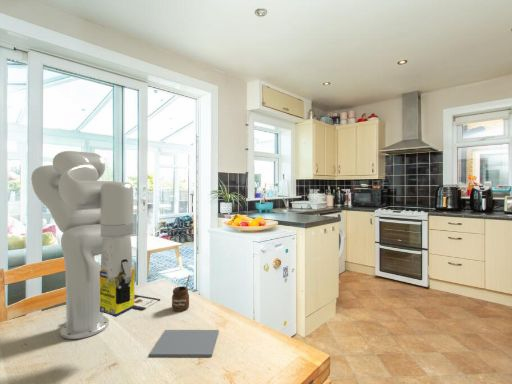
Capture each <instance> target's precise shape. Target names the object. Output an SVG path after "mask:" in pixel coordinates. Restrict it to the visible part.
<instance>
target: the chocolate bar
mask: <svg viewBox="0 0 512 384" xmlns="http://www.w3.org/2000/svg"><path fill="white" fill-rule="evenodd" d="M158 301H159V302H160V301H161V299H160V298H155V297H150V296H145V295H139V294H138V295H137V294H134V308H132V309H134V310H139V311H145V310H147V309H148V308H150V307H152V306H153V305H155V304H157V303H159V302H158Z"/></svg>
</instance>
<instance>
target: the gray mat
mask: <svg viewBox="0 0 512 384" xmlns="http://www.w3.org/2000/svg"><path fill="white" fill-rule="evenodd" d="M219 333H220V331H219V329H164V331H163V332H162V335H161V336H160V337H159V338H158V340H157V342H156V344H155V345H154V346H153V348H152V349H151V351H150V352H149V357H171V358H172V357H177V358H178V357H179V358H180V357H184V358H185V357H187V358H189V357H191V358H195V357H199V358H200V357H201V358H202V357H203V358H204V357H210V358H211V357H213V354H214V351H215V346H216V344H217V343H216V342H217V339H218V337H219Z"/></svg>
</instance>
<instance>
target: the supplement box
mask: <svg viewBox="0 0 512 384" xmlns="http://www.w3.org/2000/svg"><path fill="white" fill-rule="evenodd" d="M135 270H136V269H135V267H132V273H131V274H132V277H131V281H130V284H131V285H130V301H129V302H125V303H121V304H116V288H118V287H117V277H115V278H113V279H112V278H110V277H109V276H107V273H106V271H104V270H101V271H100V312H102V313H103V314H106V315H108V316H109V315H110V316H112V317H115V318H117V317H120V316H121V315H122V314H125V313H126V312H129V311H131V310H132V309H133V308H134V295H135V279H136V278H135ZM122 274H124V273H123V272H120V273H119V274H118V275H122ZM122 279H124V277H123V278H120V282H121V281H122Z"/></svg>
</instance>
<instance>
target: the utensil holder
mask: <svg viewBox="0 0 512 384" xmlns="http://www.w3.org/2000/svg"><path fill="white" fill-rule="evenodd" d="M190 277H191V274H189V275H188V277H187V280H186V283H185V284H186V286H179V283H177V284H176V282H175V281H174V280H175V279H176V280H178V281H177V282H179V280H180V279H179V278H178V277H177V276H176V277H173V278H172V279H171V281H172V284H176V285H177V287H176V286H174V285H172V286H173V290H172V296H171V308H172V310H173V311H174V312H178V313H180V312H185V311H188V309H189V307H190V293H189V288H188V285H189V281H190ZM173 282H174V283H173Z"/></svg>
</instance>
